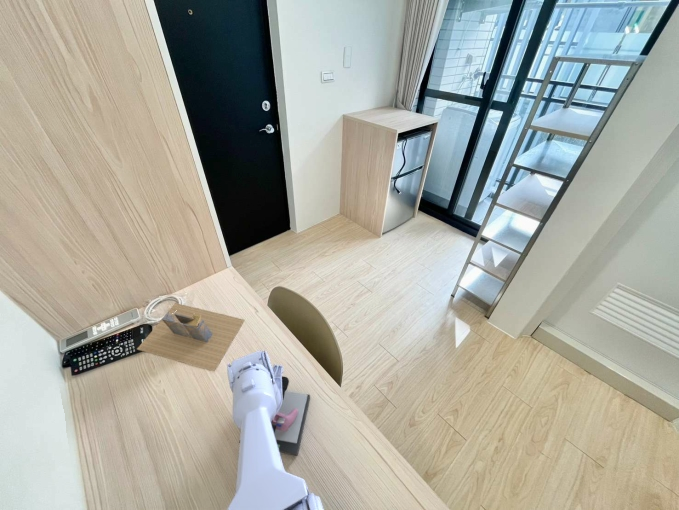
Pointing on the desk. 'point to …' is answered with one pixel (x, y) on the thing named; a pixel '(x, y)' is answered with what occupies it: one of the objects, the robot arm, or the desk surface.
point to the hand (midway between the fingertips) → (274, 414)
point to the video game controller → (284, 420)
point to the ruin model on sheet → (192, 336)
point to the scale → (292, 437)
